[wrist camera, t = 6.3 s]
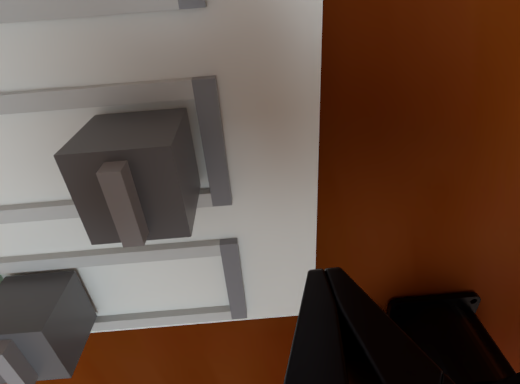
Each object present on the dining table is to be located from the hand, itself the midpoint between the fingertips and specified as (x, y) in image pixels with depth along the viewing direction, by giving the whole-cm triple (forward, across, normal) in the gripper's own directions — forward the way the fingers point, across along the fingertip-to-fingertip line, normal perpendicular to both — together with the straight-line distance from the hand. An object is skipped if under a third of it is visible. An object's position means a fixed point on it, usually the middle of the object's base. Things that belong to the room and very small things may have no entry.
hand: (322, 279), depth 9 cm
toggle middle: (+9, +6, 0) cm, 11 cm away
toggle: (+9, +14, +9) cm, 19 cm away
